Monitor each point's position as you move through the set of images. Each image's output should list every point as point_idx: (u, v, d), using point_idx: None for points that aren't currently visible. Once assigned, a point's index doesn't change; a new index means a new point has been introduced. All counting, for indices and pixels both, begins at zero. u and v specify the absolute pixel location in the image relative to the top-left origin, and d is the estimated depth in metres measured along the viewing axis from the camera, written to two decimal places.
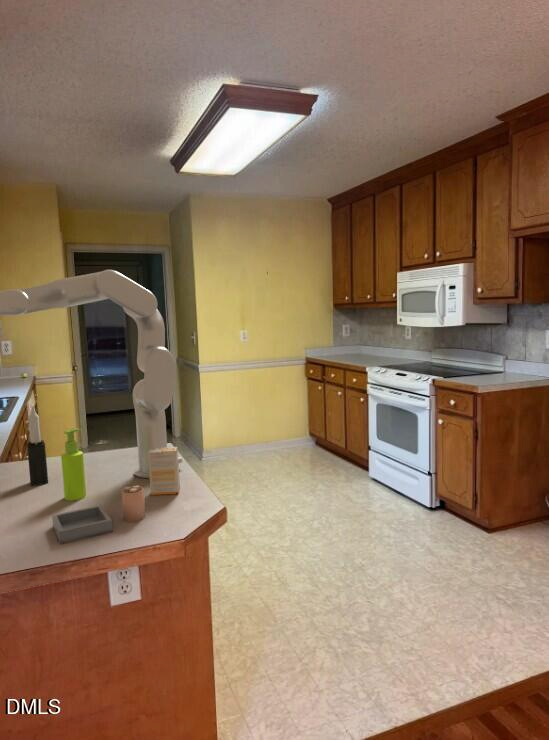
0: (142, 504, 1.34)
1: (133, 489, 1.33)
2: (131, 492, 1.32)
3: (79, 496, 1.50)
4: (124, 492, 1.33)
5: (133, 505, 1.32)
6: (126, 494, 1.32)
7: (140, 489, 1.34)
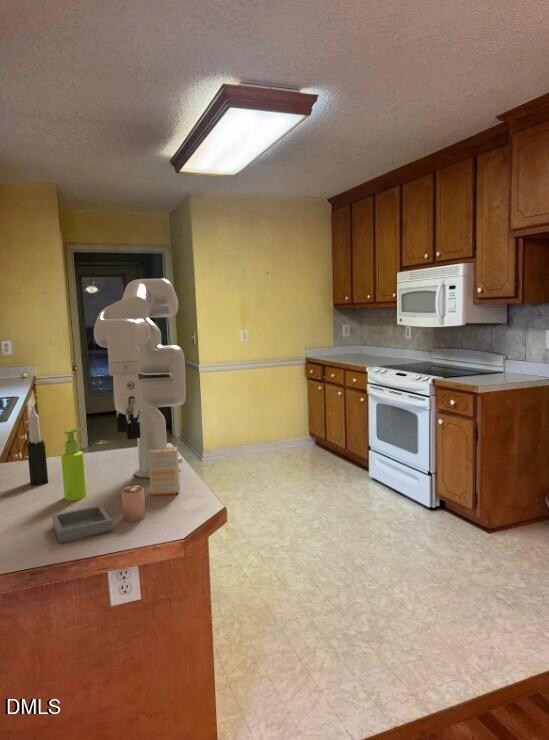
0: (142, 504, 1.34)
1: (133, 489, 1.33)
2: (131, 492, 1.32)
3: (79, 496, 1.50)
4: (124, 492, 1.33)
5: (133, 505, 1.32)
6: (126, 494, 1.32)
7: (140, 489, 1.34)
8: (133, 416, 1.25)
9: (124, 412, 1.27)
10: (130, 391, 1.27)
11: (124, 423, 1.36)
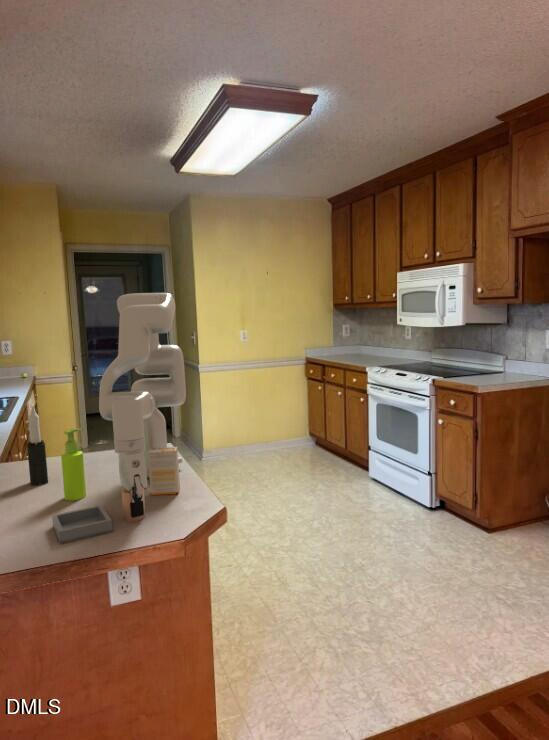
0: None
1: (133, 489, 1.33)
2: None
3: (79, 496, 1.50)
4: (124, 492, 1.33)
5: None
6: (126, 494, 1.32)
7: None
8: (137, 497, 1.29)
9: (129, 490, 1.30)
10: (135, 469, 1.29)
11: None
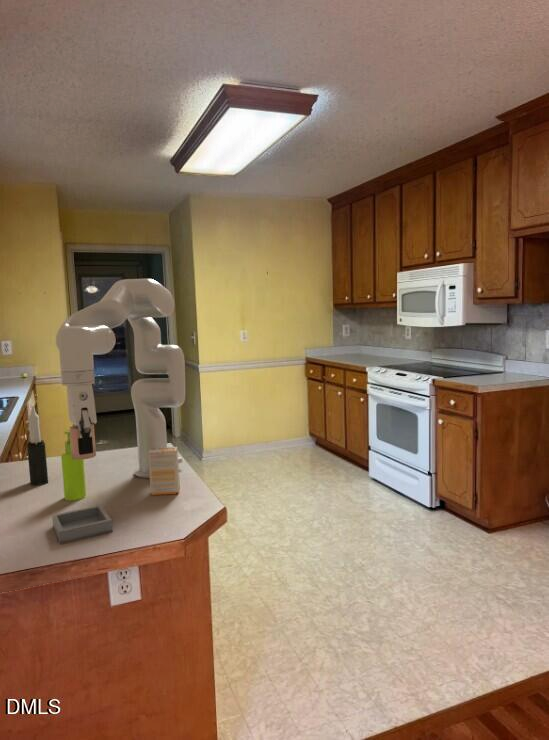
0: (92, 441, 1.26)
1: None
2: None
3: (79, 496, 1.50)
4: (72, 428, 1.25)
5: None
6: (74, 430, 1.24)
7: None
8: (84, 432, 1.22)
9: (77, 424, 1.22)
10: (83, 402, 1.22)
11: None
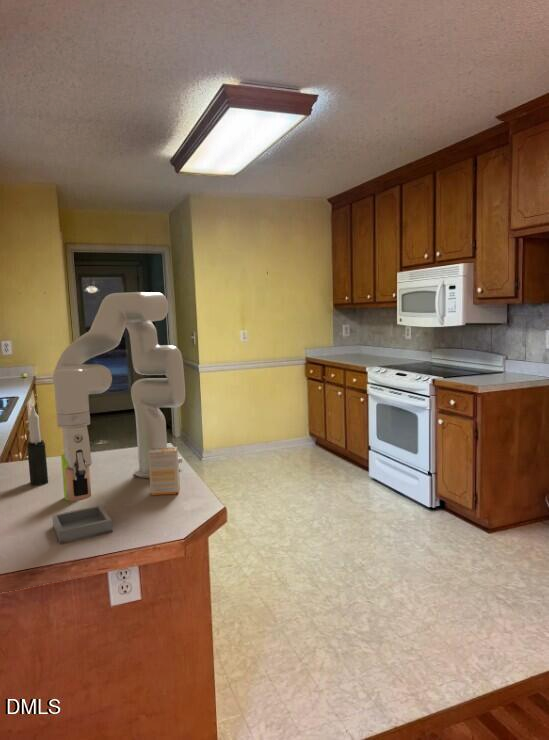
0: (87, 482, 1.26)
1: None
2: None
3: None
4: (67, 469, 1.25)
5: None
6: (69, 471, 1.24)
7: (85, 466, 1.27)
8: (79, 474, 1.22)
9: (71, 466, 1.22)
10: (78, 444, 1.22)
11: None
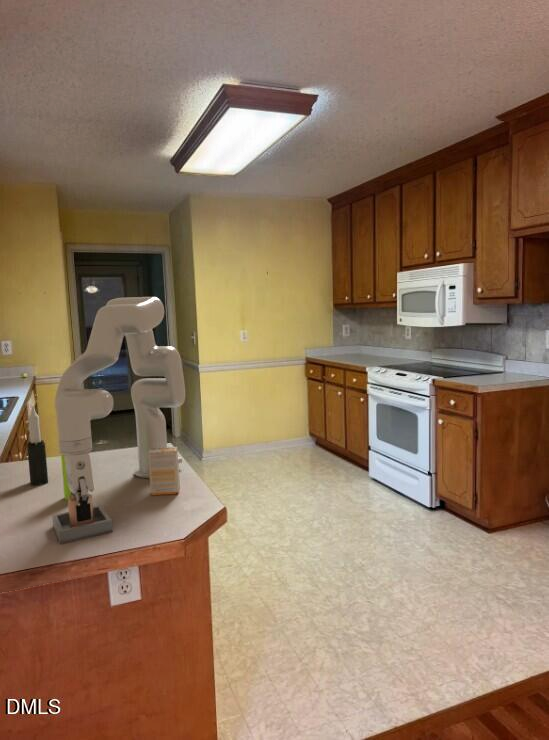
0: None
1: None
2: None
3: None
4: (70, 500, 1.26)
5: None
6: (72, 502, 1.26)
7: None
8: (82, 500, 1.22)
9: (74, 493, 1.23)
10: (80, 471, 1.23)
11: None
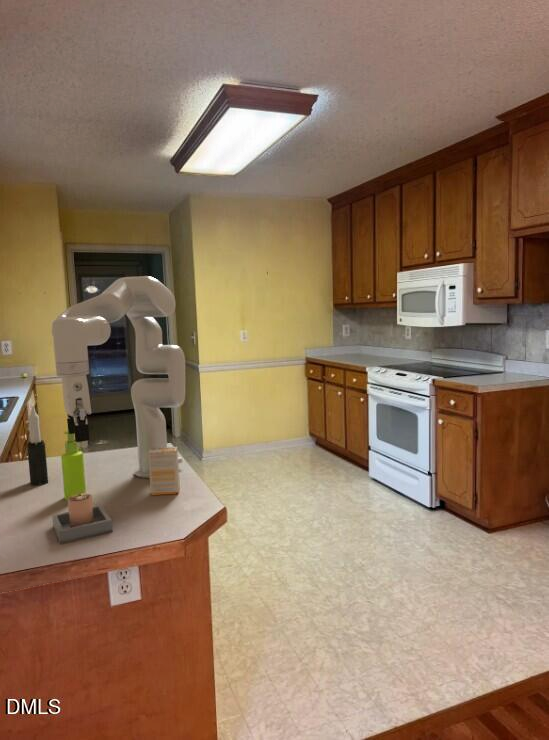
0: (89, 513, 1.27)
1: (80, 497, 1.27)
2: (77, 500, 1.26)
3: None
4: (70, 500, 1.26)
5: (80, 513, 1.26)
6: (72, 502, 1.25)
7: (87, 497, 1.28)
8: (80, 418, 1.21)
9: (71, 414, 1.23)
10: (77, 392, 1.23)
11: (75, 424, 1.32)
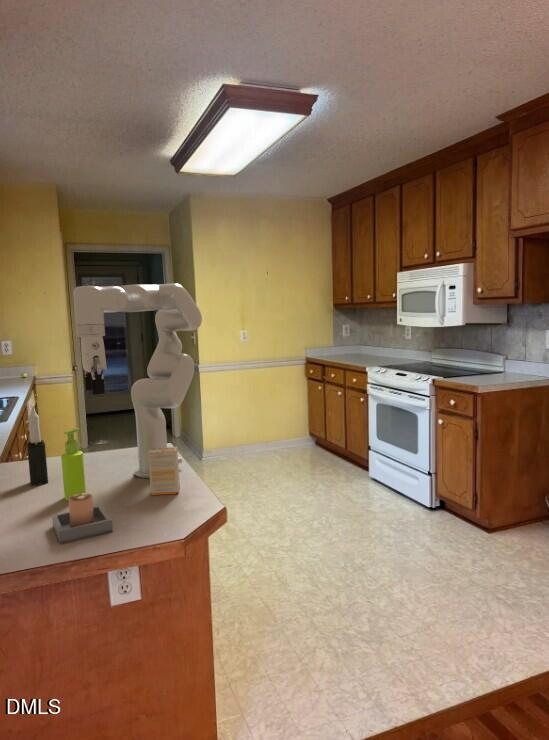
0: (90, 512, 1.28)
1: (81, 497, 1.27)
2: (78, 500, 1.26)
3: None
4: (71, 500, 1.26)
5: (81, 513, 1.26)
6: (73, 502, 1.26)
7: (88, 497, 1.28)
8: (97, 373, 1.39)
9: (89, 370, 1.41)
10: (95, 351, 1.41)
11: (91, 382, 1.50)
